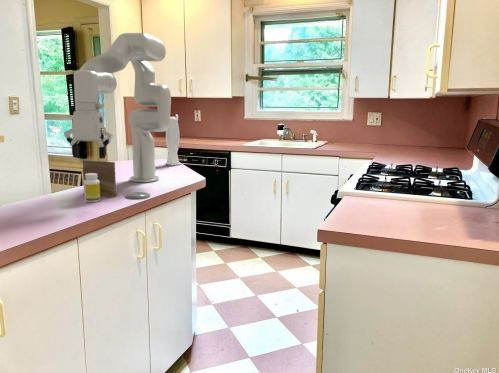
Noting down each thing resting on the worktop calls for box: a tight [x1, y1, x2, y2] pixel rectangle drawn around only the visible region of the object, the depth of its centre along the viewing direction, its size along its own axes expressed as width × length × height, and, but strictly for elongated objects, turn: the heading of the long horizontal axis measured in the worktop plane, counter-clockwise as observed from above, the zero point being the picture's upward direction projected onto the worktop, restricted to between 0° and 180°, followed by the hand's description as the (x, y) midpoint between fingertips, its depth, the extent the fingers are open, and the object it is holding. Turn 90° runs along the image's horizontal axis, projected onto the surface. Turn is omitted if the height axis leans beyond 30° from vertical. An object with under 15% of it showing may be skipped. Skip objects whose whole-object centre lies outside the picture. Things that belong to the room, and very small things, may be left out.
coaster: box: [125, 191, 151, 200], centre depth 155 cm, size 9×9×1 cm
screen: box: [82, 160, 118, 199], centre depth 153 cm, size 4×12×13 cm, turn 83°
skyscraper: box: [165, 114, 183, 167], centre depth 225 cm, size 8×8×28 cm
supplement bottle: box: [83, 173, 101, 203], centre depth 146 cm, size 5×5×10 cm
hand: (89, 157), depth 143 cm, fingers open, 9 cm apart
